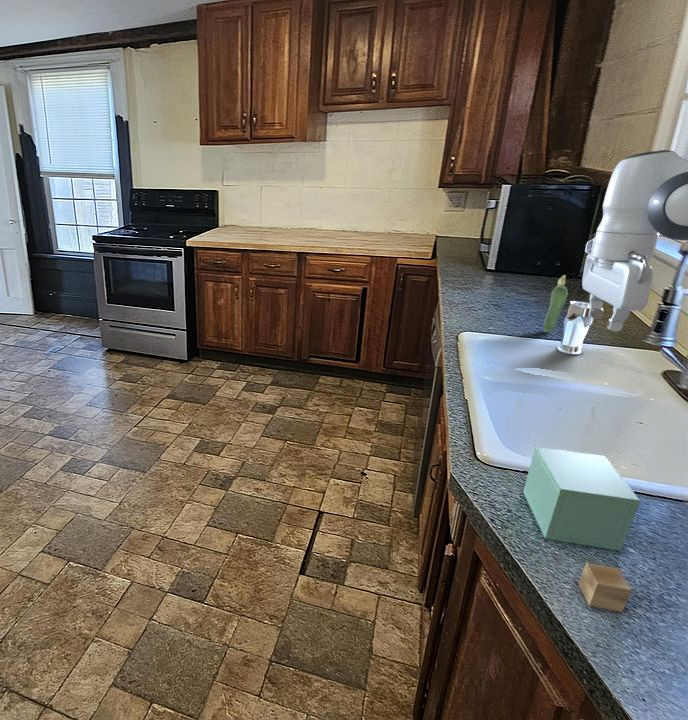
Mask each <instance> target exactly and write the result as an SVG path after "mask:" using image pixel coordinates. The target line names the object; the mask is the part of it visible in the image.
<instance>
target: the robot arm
mask: <svg viewBox="0 0 688 720" xmlns="http://www.w3.org/2000/svg"><path fill="white" fill-rule="evenodd" d="M660 235H661V236H663V237H665V238H668V239H671V240H676V241H688V160H687V159H686V158H684V157H682V156H680V154H678V153H676V151H674V150H670V149H662V150H661V149H659V150H652V151H646V152H641V153H635V154H632V155H628V156H627V157H625V158H623V159H622V160H621V161H619V162H618V163H617V164H616V166H615V167H614V169H613V171H612V174H611V176H610V179H609V181H608V184H607V188H606V191H605V195H604V199H603V203H602V219H601V221H600V223H599V225H598V227H597V228H596V233H595V235H594V237H593V238H591V239H590V240H588V241H587V242H586V244H585V249H584V252H585V253H586V254H587V255H586V258H585V261H584V266H583V273H582V278H581V279H582V281H581V285H582V289H583V290H584V291H586V292H588V293H589V303H590V311H589V316H590V317H591V318H593V320H594V319H597V320H601V319H602V317H603V314H604V309H603V306H604V302H606V303H607V304H609V305H612V306H613V309H612V313H613V314H612V316H611V318H610V319H608V321H607V325H606V328H607V329H608V330H610V331H611V332H621V331H622V329H623V326H624V323H625V321H626V320H627V319H628V317H629V316H630V314H631V311H632V312H641V311H644V310H645V308H646V307H647V305H648V302H649V297H650V292H651V287H652V282H653V277H654V276H653V273H654V271H653V268H652V266H651V265H650V264H649V262H651V261H652V260H653V258H654V254H655V250H656V247H657V243H658V239H659V236H660Z"/></svg>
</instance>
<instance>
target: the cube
mask: <svg viewBox="0 0 688 720" xmlns="http://www.w3.org/2000/svg"><path fill="white" fill-rule="evenodd" d="M578 586H579V589H580V590H581V593H582V594H583V597H584V598H585V600H586V603H587V605H588V606H589V607H594V608H599V609H603V610H607V611H614V612H619V613H623V612H624V609H625V607H626V604H627V602H628V599H629V598H630V595H631V593H632V588H631V587H630V585H629V582H628V581H627V580H626V578H625V577H624V575H623V573H622V572H621V570H620V568H618V567H613V566H607V565H601V564H595V563H589V562H586V563H585V565H584V567H583V570H582V573H581V576H580V579H579V582H578Z"/></svg>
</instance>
